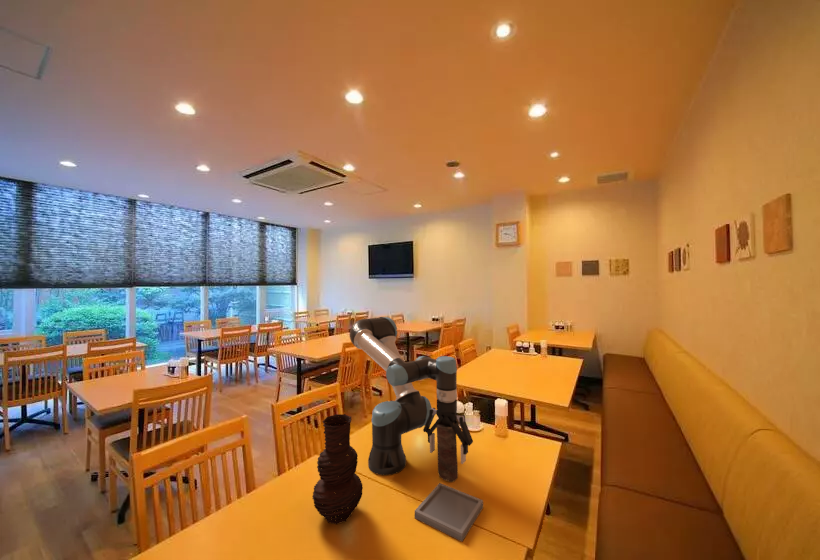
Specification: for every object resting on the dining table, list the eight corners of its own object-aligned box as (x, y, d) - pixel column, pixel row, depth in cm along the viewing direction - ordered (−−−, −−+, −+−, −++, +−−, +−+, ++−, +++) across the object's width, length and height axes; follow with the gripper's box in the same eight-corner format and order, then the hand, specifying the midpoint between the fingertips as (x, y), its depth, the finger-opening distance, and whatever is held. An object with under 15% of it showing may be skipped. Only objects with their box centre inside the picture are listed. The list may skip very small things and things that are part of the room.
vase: (321, 497, 108) (320, 409, 108) (366, 498, 107) (365, 409, 107) (305, 534, 92) (303, 431, 92) (357, 534, 92) (356, 431, 92)
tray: (414, 518, 98) (414, 510, 98) (439, 489, 111) (439, 482, 111) (462, 541, 89) (462, 533, 89) (483, 507, 102) (483, 500, 102)
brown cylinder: (434, 480, 116) (434, 425, 116) (440, 468, 123) (439, 417, 123) (455, 484, 113) (454, 429, 113) (459, 473, 120) (459, 420, 120)
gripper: (413, 395, 122) (414, 451, 122) (473, 409, 108) (474, 472, 108) (424, 390, 128) (424, 442, 128) (481, 402, 114) (482, 461, 114)
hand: (447, 456), depth 118 cm, fingers open, 12 cm apart
